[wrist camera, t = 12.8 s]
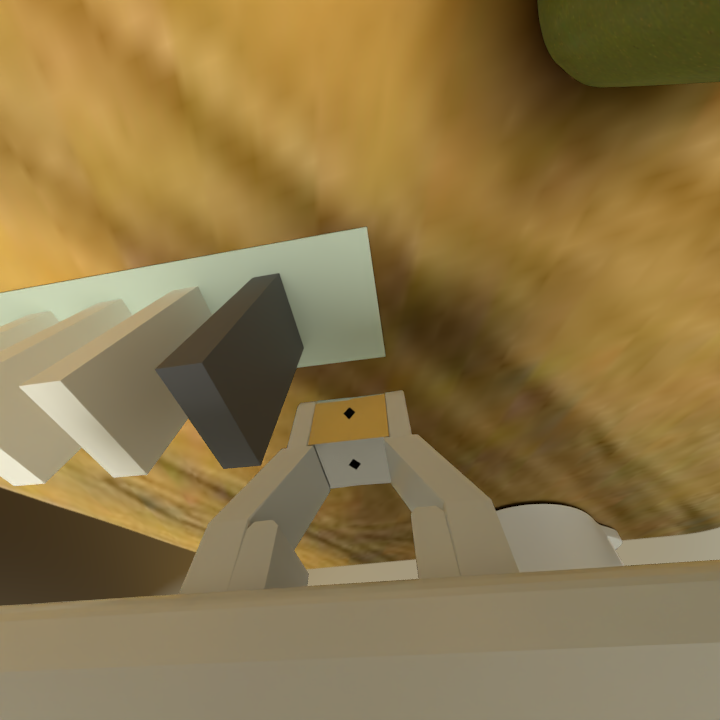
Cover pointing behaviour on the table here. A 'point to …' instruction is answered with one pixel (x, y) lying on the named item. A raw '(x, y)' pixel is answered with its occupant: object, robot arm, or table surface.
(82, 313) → the domino
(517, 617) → the robot arm
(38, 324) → the domino
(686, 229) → the table surface
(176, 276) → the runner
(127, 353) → the domino
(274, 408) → the black domino
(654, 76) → the plant pot
